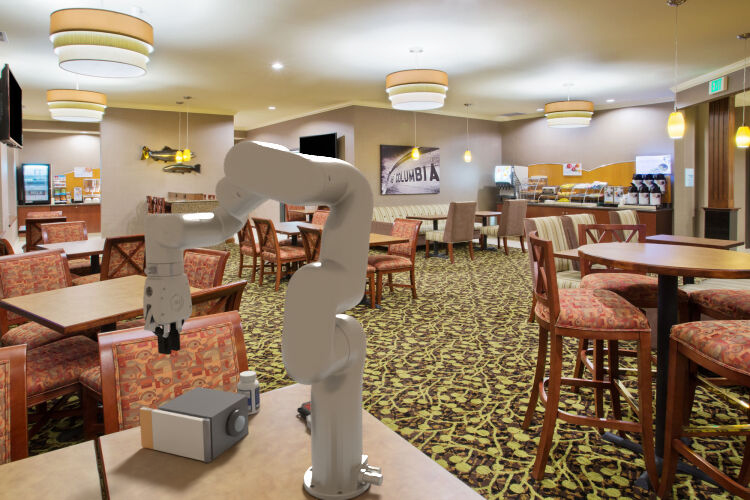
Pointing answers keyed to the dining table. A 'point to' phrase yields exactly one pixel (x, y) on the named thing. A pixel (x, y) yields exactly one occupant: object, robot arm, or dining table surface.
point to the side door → (176, 433)
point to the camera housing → (215, 414)
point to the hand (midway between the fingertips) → (169, 351)
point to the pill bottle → (250, 390)
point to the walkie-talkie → (306, 412)
